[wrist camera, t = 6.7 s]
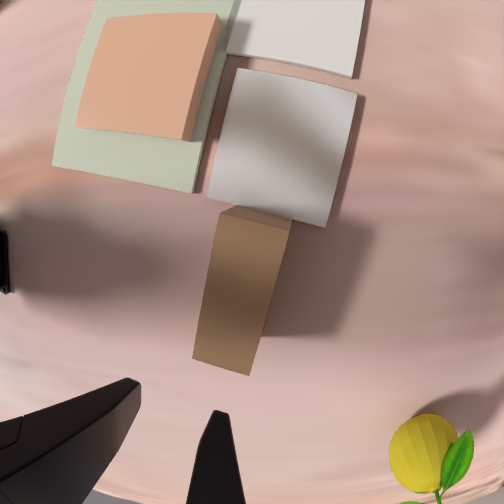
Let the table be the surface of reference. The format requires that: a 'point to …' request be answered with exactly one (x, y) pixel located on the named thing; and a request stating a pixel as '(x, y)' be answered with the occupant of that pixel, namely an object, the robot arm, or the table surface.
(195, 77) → the tile
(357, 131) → the table surface
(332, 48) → the tool pad
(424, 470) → the lemon
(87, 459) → the robot arm
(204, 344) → the turner
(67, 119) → the felt mat
